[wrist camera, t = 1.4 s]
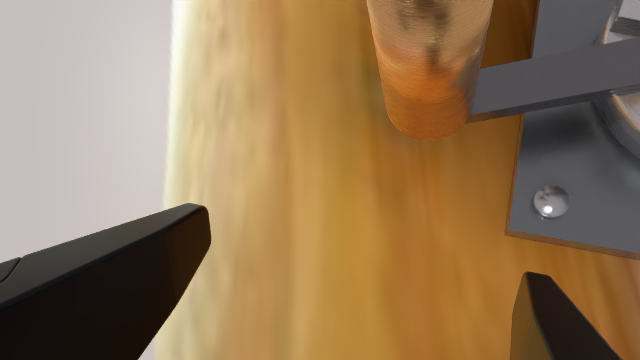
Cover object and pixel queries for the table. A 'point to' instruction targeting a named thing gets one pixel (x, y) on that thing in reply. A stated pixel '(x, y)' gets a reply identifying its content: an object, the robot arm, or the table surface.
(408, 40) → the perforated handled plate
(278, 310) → the table surface
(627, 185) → the base plate
